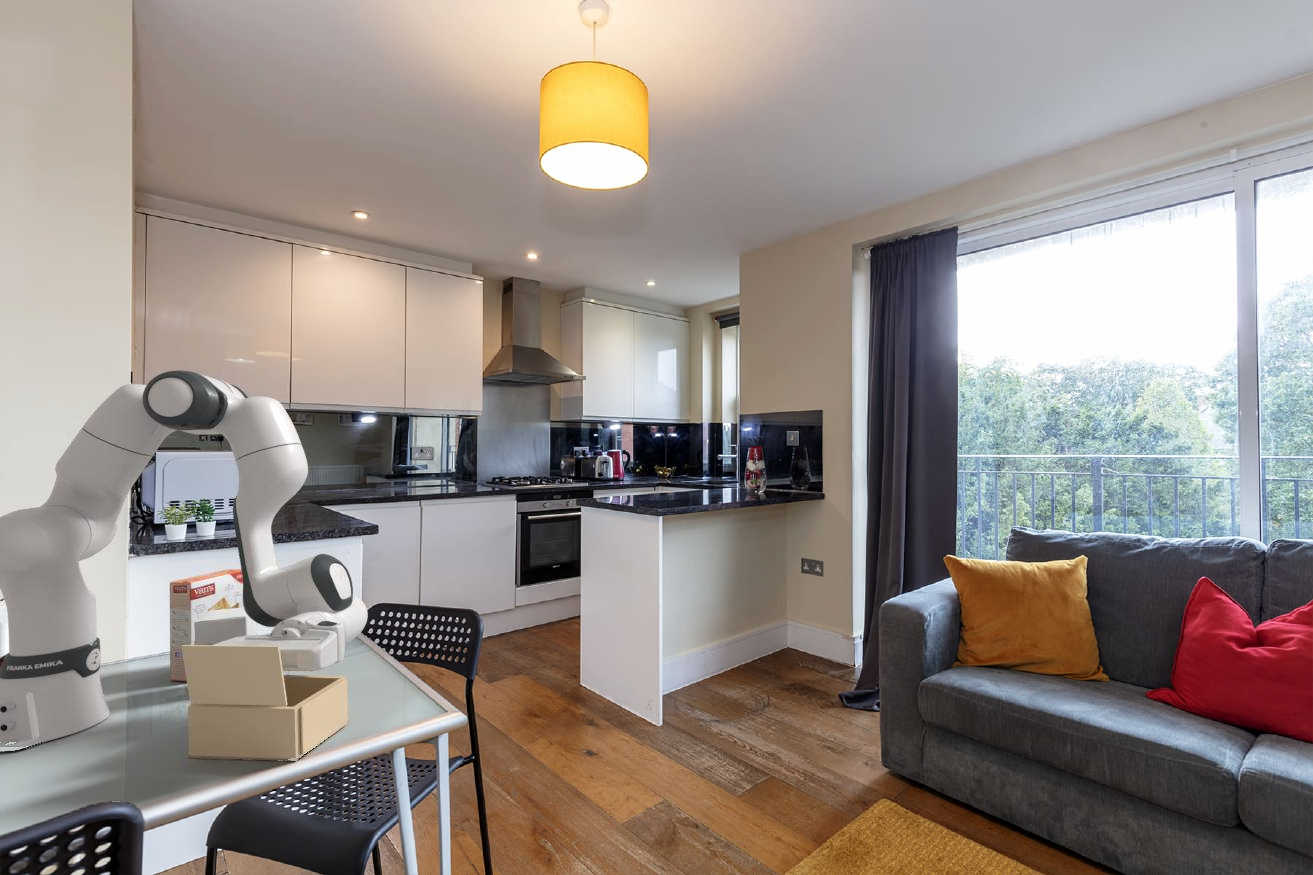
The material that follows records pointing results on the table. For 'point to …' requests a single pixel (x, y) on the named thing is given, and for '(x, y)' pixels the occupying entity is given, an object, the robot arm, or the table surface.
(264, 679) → the flap
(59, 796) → the table surface
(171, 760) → the table surface
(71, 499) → the robot arm
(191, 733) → the carton
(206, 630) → the supplement box
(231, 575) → the cracker box
